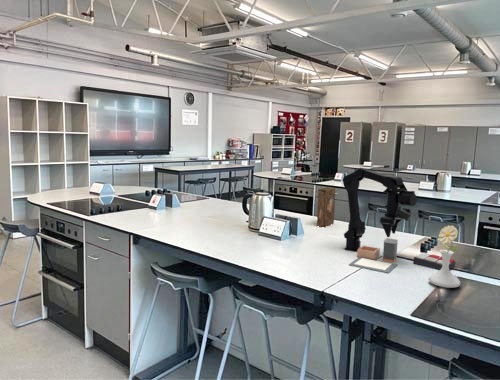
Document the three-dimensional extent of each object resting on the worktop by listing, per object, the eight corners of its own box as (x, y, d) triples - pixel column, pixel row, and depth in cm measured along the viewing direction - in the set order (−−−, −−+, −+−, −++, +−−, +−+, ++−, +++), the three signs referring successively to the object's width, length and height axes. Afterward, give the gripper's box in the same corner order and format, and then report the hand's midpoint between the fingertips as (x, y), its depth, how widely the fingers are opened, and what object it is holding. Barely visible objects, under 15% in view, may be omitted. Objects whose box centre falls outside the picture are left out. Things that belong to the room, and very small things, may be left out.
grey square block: (382, 260, 183) (384, 240, 182) (385, 257, 187) (387, 238, 186) (393, 262, 180) (394, 241, 179) (396, 259, 184) (397, 239, 183)
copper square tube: (357, 257, 188) (357, 249, 187) (362, 253, 194) (363, 245, 194) (374, 260, 183) (374, 252, 182) (379, 256, 190) (379, 248, 189)
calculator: (448, 264, 167) (413, 255, 178) (446, 274, 168) (412, 264, 178) (456, 259, 175) (423, 251, 185) (454, 268, 176) (421, 259, 186)
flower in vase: (424, 279, 158) (428, 220, 155) (452, 280, 157) (457, 221, 154) (436, 291, 145) (441, 227, 142) (467, 293, 144) (473, 228, 141)
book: (323, 227, 251) (325, 190, 248) (316, 226, 254) (317, 189, 251) (333, 223, 264) (335, 188, 261) (326, 222, 267) (327, 187, 264)
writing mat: (348, 265, 175) (348, 263, 175) (358, 257, 186) (359, 256, 186) (388, 273, 165) (388, 271, 165) (397, 265, 176) (397, 263, 176)
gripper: (406, 207, 168) (403, 242, 170) (415, 202, 183) (413, 234, 185) (380, 204, 174) (378, 238, 176) (391, 200, 190) (389, 230, 191)
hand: (391, 235), depth 182 cm, fingers open, 9 cm apart
